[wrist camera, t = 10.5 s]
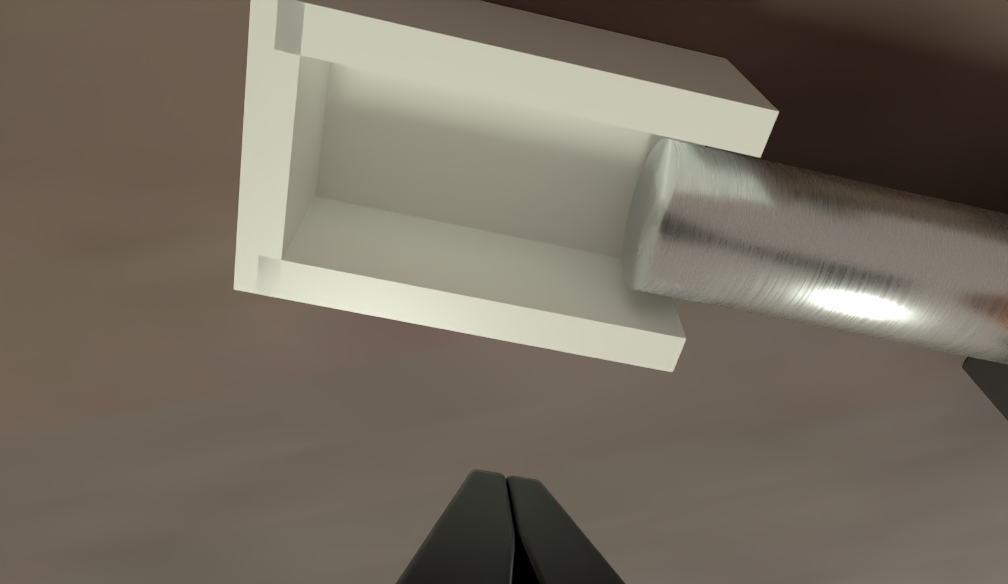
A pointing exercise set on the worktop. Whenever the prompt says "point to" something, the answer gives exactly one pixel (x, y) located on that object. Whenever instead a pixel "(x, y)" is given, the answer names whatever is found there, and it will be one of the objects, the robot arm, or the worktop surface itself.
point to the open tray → (469, 166)
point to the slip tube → (818, 250)
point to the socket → (990, 380)
